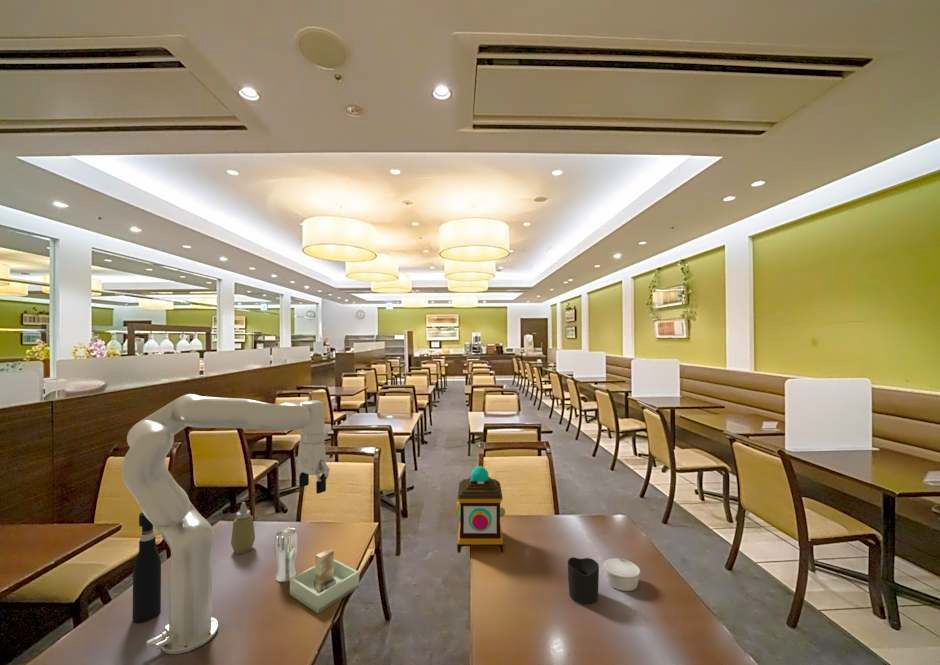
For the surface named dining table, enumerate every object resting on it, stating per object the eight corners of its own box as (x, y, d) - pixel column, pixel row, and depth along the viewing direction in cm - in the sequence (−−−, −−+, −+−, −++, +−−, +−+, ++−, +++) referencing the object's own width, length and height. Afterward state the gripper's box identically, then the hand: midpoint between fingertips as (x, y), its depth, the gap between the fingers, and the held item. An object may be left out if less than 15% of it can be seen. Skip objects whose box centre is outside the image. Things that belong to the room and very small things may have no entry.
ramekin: (645, 582, 132) (645, 566, 132) (632, 598, 124) (632, 581, 124) (612, 569, 140) (612, 554, 140) (598, 583, 132) (598, 567, 132)
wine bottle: (137, 626, 113) (138, 519, 113) (128, 618, 116) (129, 514, 116) (164, 613, 118) (165, 510, 118) (155, 605, 121) (156, 506, 122)
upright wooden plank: (319, 592, 126) (319, 557, 126) (315, 590, 127) (315, 555, 127) (333, 585, 130) (333, 550, 130) (329, 582, 131) (329, 548, 131)
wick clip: (324, 594, 125) (324, 586, 125) (314, 587, 128) (314, 579, 128) (335, 587, 128) (335, 579, 128) (324, 581, 132) (324, 573, 132)
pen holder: (577, 583, 132) (577, 552, 132) (604, 596, 125) (604, 564, 125) (562, 596, 125) (561, 564, 125) (589, 610, 119) (589, 576, 119)
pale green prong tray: (318, 613, 118) (318, 596, 118) (289, 594, 127) (289, 578, 127) (359, 587, 130) (359, 571, 130) (330, 571, 139) (330, 557, 139)
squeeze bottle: (259, 548, 155) (259, 501, 155) (237, 557, 148) (238, 508, 148) (247, 542, 159) (248, 496, 159) (226, 551, 152) (226, 504, 152)
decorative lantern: (507, 556, 149) (506, 474, 149) (453, 555, 149) (453, 474, 149) (503, 530, 169) (502, 458, 169) (456, 530, 169) (456, 458, 169)
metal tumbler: (288, 584, 132) (288, 538, 132) (269, 581, 133) (270, 536, 134) (301, 572, 139) (301, 528, 139) (283, 569, 140) (283, 526, 140)
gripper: (287, 436, 137) (287, 487, 136) (317, 444, 127) (317, 498, 126) (307, 432, 143) (307, 480, 143) (338, 439, 133) (337, 491, 133)
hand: (312, 489), depth 134 cm, fingers open, 9 cm apart
